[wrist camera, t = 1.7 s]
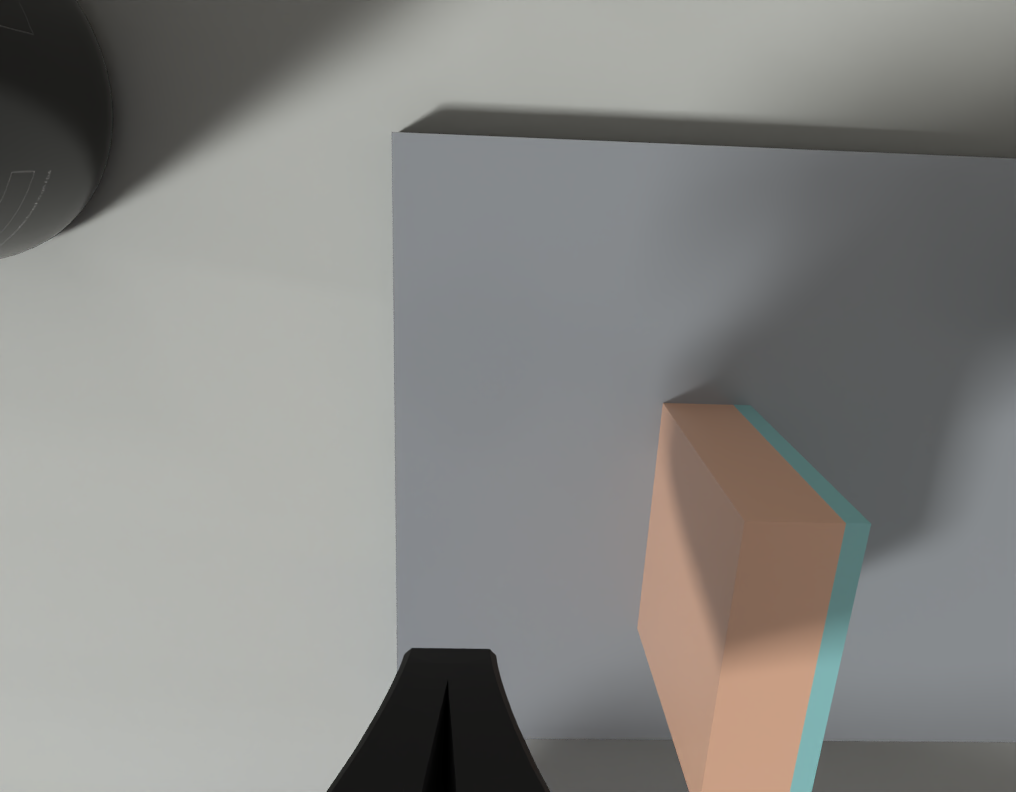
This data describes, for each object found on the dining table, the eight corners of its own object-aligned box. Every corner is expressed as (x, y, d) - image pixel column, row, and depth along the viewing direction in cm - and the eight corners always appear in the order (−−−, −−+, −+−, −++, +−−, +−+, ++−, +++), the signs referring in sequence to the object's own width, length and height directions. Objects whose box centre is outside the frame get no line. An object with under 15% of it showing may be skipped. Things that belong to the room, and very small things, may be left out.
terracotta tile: (715, 629, 19) (806, 817, 13) (637, 628, 19) (697, 817, 13) (750, 405, 17) (870, 523, 12) (662, 402, 17) (744, 521, 11)
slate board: (1034, 715, 21) (1060, 742, 20) (401, 710, 20) (397, 738, 19) (1217, 167, 16) (1263, 168, 15) (397, 132, 16) (391, 132, 15)
